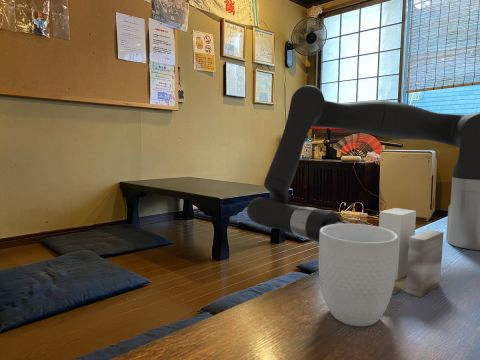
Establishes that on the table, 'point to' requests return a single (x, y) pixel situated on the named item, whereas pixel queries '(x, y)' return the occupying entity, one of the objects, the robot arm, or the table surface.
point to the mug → (357, 271)
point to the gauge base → (422, 264)
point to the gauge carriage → (399, 233)
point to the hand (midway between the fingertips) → (386, 241)
